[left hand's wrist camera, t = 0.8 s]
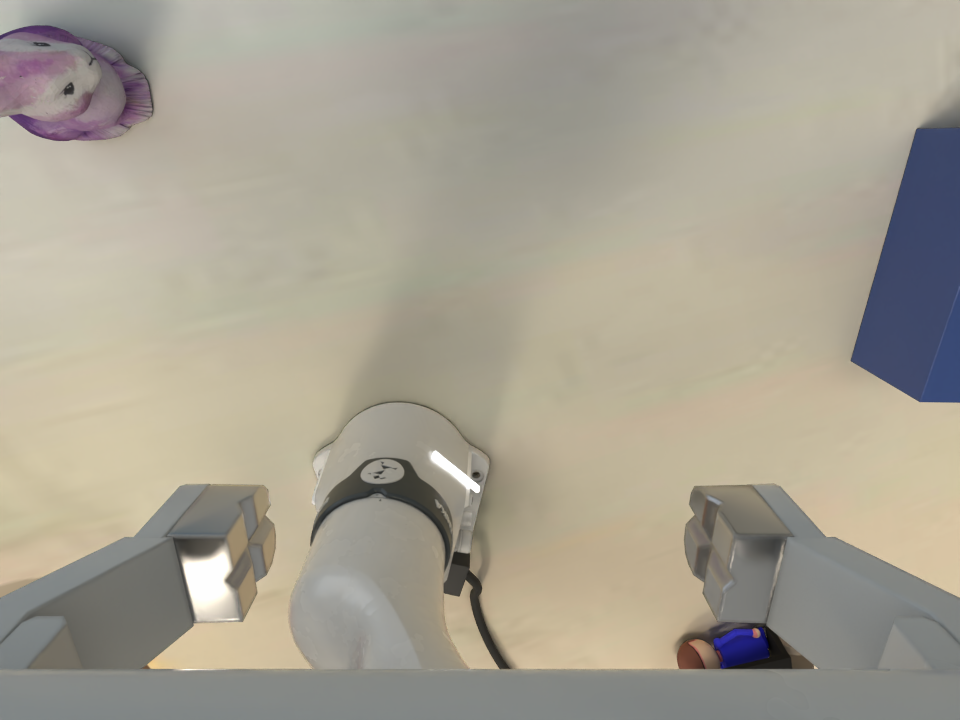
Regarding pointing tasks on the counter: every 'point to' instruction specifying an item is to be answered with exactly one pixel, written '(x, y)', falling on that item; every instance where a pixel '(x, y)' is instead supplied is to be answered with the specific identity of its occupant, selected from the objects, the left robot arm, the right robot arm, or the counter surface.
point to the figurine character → (742, 652)
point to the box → (919, 278)
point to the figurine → (69, 86)
